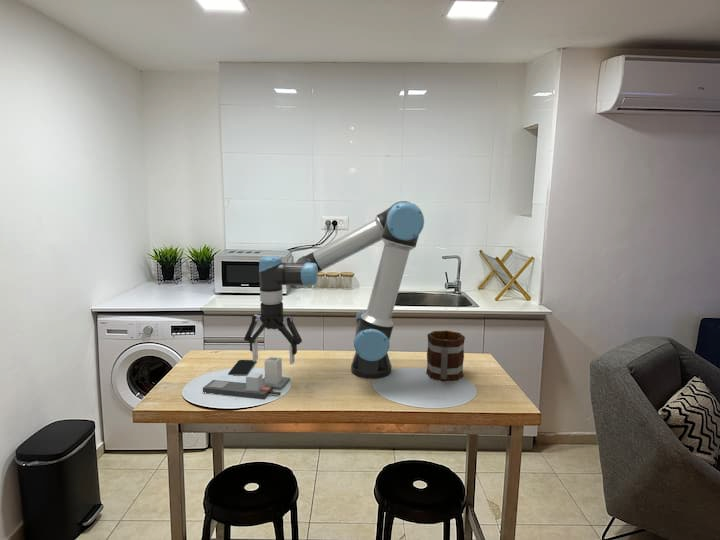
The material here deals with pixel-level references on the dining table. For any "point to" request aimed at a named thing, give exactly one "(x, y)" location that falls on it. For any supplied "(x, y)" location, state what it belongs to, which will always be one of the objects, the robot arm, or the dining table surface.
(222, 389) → the power strip
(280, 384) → the coaster
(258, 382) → the cube
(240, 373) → the smartphone
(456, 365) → the mug
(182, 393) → the dining table surface
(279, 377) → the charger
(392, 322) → the robot arm
